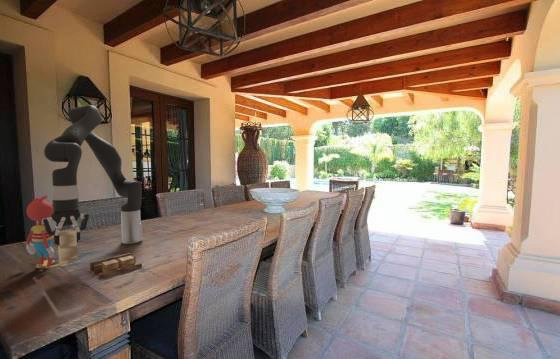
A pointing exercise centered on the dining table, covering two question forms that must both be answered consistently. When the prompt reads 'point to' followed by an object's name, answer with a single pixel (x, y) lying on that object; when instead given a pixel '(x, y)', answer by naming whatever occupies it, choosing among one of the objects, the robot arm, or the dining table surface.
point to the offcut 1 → (109, 265)
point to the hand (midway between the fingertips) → (67, 243)
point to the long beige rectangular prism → (67, 245)
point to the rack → (97, 270)
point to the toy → (41, 233)
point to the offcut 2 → (126, 261)
